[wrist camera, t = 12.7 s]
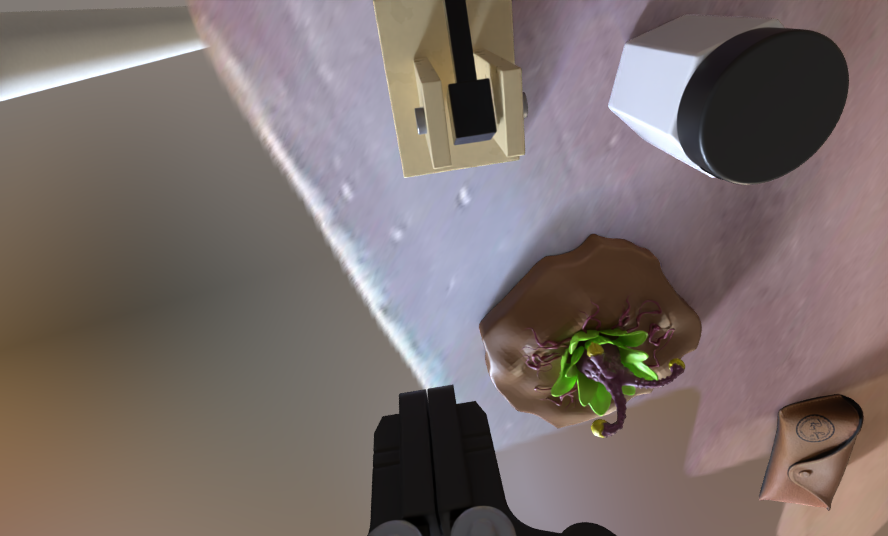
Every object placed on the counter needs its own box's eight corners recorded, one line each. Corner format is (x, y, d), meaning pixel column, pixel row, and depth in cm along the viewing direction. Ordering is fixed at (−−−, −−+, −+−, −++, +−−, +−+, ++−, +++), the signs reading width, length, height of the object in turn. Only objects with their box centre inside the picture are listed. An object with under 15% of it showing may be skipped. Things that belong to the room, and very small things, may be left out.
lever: (379, -111, 26) (374, -145, 23) (488, -126, 26) (494, -162, 24) (420, 150, 27) (420, 143, 25) (524, 135, 27) (533, 126, 25)
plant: (441, 331, 45) (454, 421, 36) (615, 201, 40) (686, 265, 31) (554, 433, 54) (590, 528, 44) (709, 336, 49) (788, 420, 39)
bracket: (373, -1, 32) (364, 0, 21) (507, -20, 32) (561, -29, 21) (403, 173, 38) (408, 238, 27) (516, 155, 38) (562, 214, 27)
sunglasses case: (776, 410, 55) (846, 444, 50) (804, 377, 58) (874, 406, 53) (756, 503, 64) (814, 540, 59) (781, 470, 67) (839, 503, 62)
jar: (618, 154, 38) (702, 211, 28) (594, 53, 34) (681, 76, 24) (727, 107, 37) (857, 148, 27) (716, -3, 33) (862, -4, 23)
